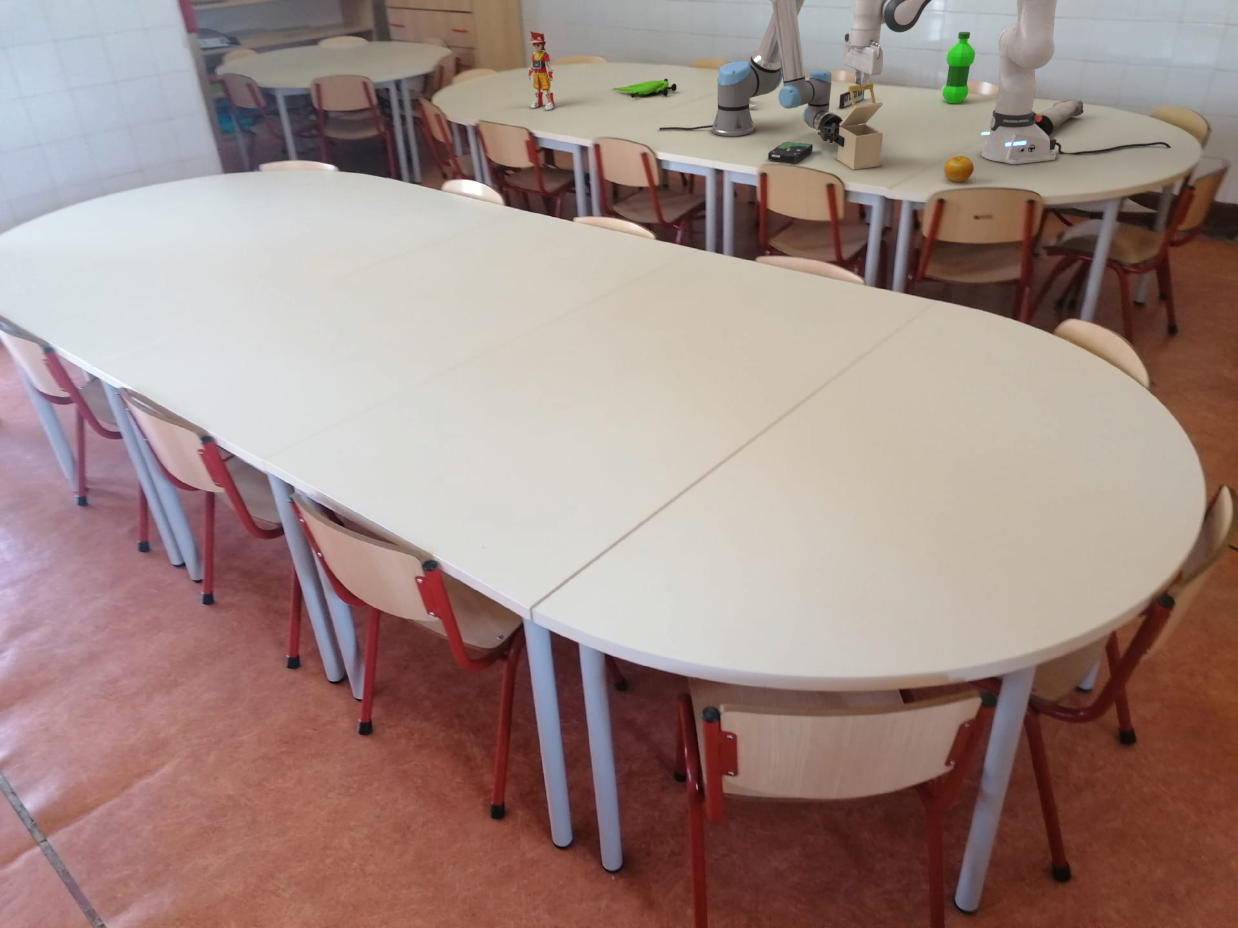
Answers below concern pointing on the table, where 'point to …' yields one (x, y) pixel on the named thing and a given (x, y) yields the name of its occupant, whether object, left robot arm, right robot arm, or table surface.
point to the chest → (860, 146)
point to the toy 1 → (541, 71)
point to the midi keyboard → (846, 98)
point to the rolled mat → (1059, 114)
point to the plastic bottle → (958, 69)
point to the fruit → (958, 168)
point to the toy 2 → (648, 88)
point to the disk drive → (790, 152)
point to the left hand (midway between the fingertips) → (857, 140)
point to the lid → (860, 108)
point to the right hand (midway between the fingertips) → (860, 85)
